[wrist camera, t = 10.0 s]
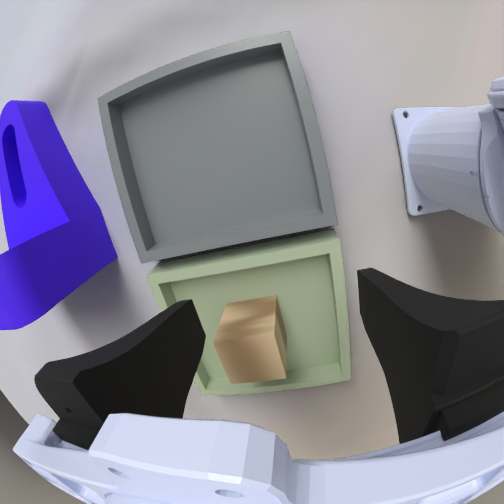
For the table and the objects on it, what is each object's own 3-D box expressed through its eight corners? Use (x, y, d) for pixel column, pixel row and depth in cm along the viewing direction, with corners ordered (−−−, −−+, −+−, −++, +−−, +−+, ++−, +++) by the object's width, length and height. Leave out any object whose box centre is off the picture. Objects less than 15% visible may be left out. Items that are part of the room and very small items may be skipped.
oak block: (276, 294, 21) (274, 334, 16) (286, 335, 22) (286, 378, 17) (226, 303, 22) (212, 342, 17) (240, 342, 23) (230, 384, 18)
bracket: (118, 256, 22) (27, 328, 11) (51, 276, 24) (-21, 330, 13) (71, 76, 17) (-28, 62, 6) (11, 129, 19) (-70, 141, 8)
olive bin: (333, 229, 20) (339, 239, 17) (346, 361, 24) (350, 379, 21) (158, 263, 22) (145, 275, 20) (206, 378, 26) (200, 395, 24)
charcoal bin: (289, 44, 15) (290, 31, 13) (331, 215, 19) (337, 224, 17) (115, 101, 18) (97, 98, 15) (154, 252, 22) (141, 263, 19)
